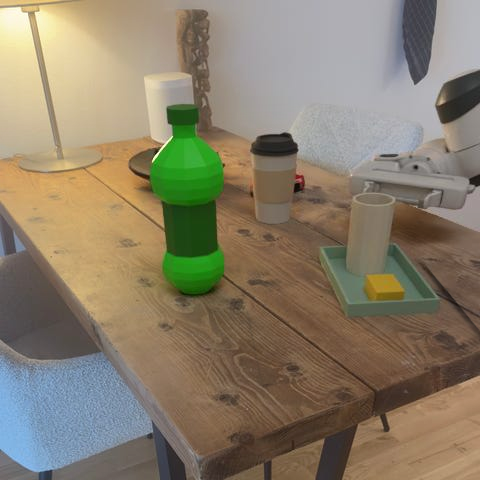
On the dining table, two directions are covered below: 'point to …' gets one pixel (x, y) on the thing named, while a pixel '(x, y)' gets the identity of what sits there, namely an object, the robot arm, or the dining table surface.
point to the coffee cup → (273, 176)
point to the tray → (398, 264)
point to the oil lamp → (144, 162)
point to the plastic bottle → (189, 203)
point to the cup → (369, 233)
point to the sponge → (383, 288)
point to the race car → (298, 184)
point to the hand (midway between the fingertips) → (393, 199)
